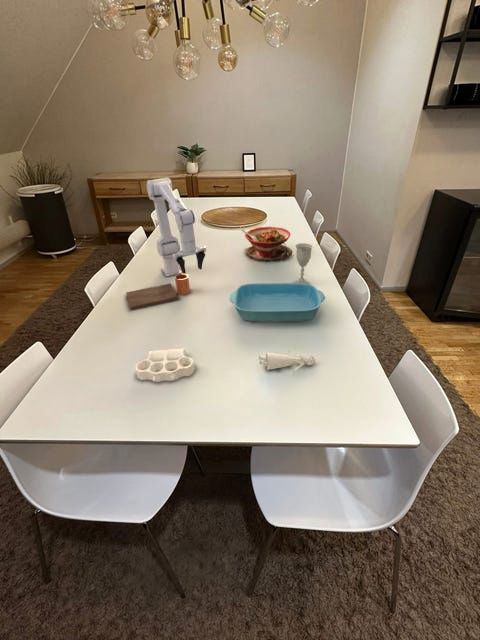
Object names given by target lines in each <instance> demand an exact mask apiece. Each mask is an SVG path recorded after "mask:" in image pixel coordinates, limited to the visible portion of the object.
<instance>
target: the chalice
mask: <svg viewBox="0 0 480 640" xmlns="http://www.w3.org/2000/svg"><path fill="white" fill-rule="evenodd" d="M313 247H314V246H313V245H312V244H310V243H306V242H305V243H303V242H302V243H297V244H295V249H296V250H295V251H296V253H295V258H296V261H297V263H298V265H299V267H300V268H301V269H300V273H299V275H300V277H299V278H298V279H297V280H296V282H295V283H304V284H308V283H307V280H306V279H305V278H304V275H305V273H304V272H305V267H306V266H307V265H308V264H309V262H310V260H311V258H312V249H313Z"/></svg>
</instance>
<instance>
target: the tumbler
mask: <svg viewBox="0 0 480 640" xmlns="http://www.w3.org/2000/svg"><path fill="white" fill-rule="evenodd" d="M174 276H175V277H174V280H175V287H176V294H178V295H180V296H185V295H188V294H190V293H191V285H190V279H189V274H187V273H186V274H183V273H181V274H176V275H174Z"/></svg>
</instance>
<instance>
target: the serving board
mask: <svg viewBox="0 0 480 640" xmlns="http://www.w3.org/2000/svg"><path fill="white" fill-rule="evenodd" d="M125 294H126V297H127V301H128V305H129V309H130V311H132V310H133V311H134V310H137V309H141V308H147V307H152V306H155V305H160V304H165V303H170V302H174V301H178V300H179V297H178V295H177V292H176V291H175V289H174V287H173V285H172V283H171V282H170V283H166V284H160V285H156V286H150V287H146V288H140V289H136V290H132V291H127V292H125Z"/></svg>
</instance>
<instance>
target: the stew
mask: <svg viewBox="0 0 480 640" xmlns="http://www.w3.org/2000/svg"><path fill="white" fill-rule="evenodd" d="M238 227H239V229H240V230H241V231H242V233H244V236H245V239H246V240H247V241H248V242H249V243H250V245H251V246H249V247H247V248H245V250H246V251H245V255H246V256H247V257H249V258H250V259H252V260H255V261H257V262H263V263H264V262H265V263H271V262H272V263H273V262H281V261H287V260H288V259H290V257H291V256H293V250H292V249H291V248H290V247H289V246H287V245H286V242H287V241H288V240H289V238H290V237H291V232H290V231H289V230H288V229H285V228H283V227H275V226H260V227H254V228H252V229H250V230H248V231H246V230H244V229H243V228H242V227H241V226H240V225H238Z"/></svg>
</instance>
